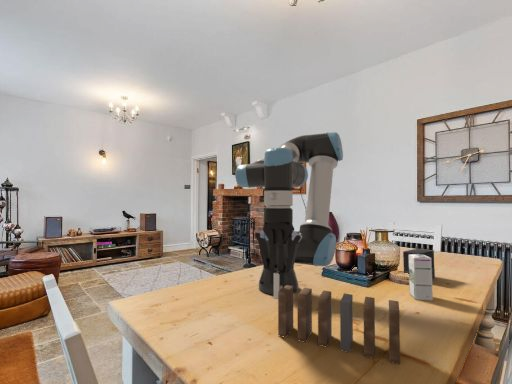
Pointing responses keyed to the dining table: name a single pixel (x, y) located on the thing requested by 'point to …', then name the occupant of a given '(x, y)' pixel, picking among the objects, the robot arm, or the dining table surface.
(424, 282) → the syrup box
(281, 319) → the domino
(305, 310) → the domino
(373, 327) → the domino
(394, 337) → the domino
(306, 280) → the dining table surface
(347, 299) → the domino
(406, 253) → the small box
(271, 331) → the dining table surface
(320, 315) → the domino
